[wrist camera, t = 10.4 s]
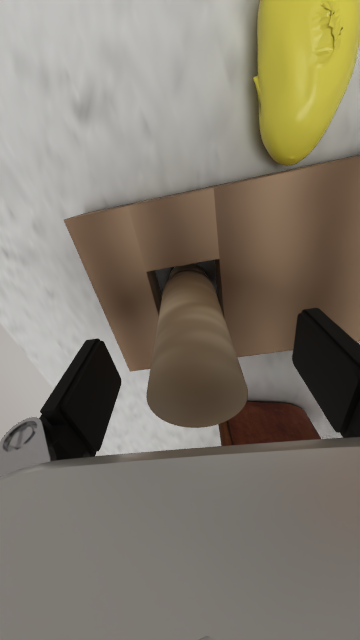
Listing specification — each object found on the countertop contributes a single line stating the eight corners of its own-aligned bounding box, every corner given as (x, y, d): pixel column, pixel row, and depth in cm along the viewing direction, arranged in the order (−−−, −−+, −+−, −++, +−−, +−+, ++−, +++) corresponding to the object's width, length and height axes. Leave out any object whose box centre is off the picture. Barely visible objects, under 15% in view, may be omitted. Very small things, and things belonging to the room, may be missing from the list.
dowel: (207, 254, 16) (247, 355, 6) (212, 297, 18) (248, 422, 8) (160, 262, 16) (133, 370, 7) (170, 304, 18) (159, 431, 9)
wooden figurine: (208, 425, 28) (241, 715, 13) (217, 394, 24) (277, 740, 9) (295, 430, 28) (427, 713, 13) (316, 400, 25) (526, 735, 10)
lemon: (240, 171, 13) (260, 167, 10) (251, -62, 9) (292, -208, 6) (310, 163, 13) (354, 156, 10) (356, -81, 9) (464, -245, 5)
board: (446, 136, 12) (517, 123, 10) (379, 313, 18) (411, 334, 16) (84, 213, 14) (63, 219, 12) (136, 348, 21) (130, 371, 18)
